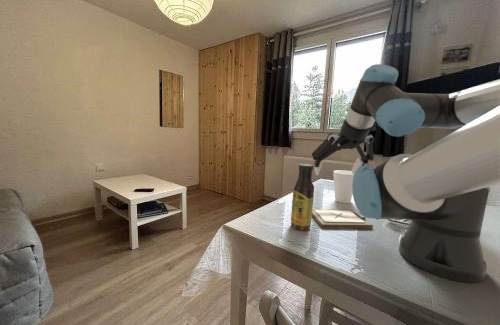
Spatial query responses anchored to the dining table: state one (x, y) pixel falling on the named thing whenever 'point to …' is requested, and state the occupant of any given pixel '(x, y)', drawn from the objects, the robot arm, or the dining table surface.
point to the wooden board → (341, 219)
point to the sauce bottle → (303, 199)
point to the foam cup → (343, 185)
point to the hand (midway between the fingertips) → (334, 172)
